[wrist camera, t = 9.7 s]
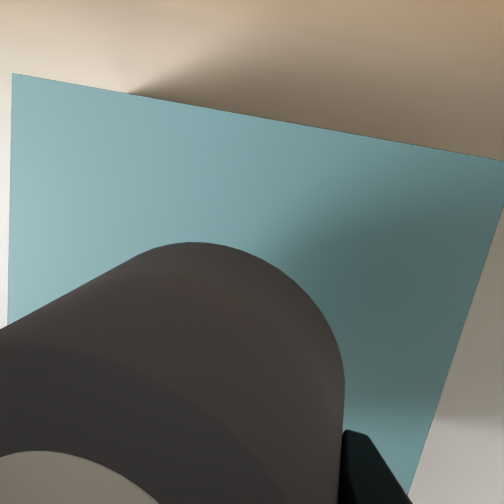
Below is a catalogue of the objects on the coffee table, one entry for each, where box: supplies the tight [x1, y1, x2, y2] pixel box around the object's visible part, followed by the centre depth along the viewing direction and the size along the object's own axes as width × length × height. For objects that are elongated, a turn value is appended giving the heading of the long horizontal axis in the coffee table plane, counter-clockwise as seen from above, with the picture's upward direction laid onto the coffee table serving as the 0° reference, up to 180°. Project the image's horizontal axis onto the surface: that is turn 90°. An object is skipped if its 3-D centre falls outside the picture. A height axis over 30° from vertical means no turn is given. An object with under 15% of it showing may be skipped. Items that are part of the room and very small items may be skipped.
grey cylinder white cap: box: [0, 242, 345, 504], centre depth 7 cm, size 6×6×5 cm
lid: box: [7, 73, 504, 495], centre depth 12 cm, size 10×12×1 cm
